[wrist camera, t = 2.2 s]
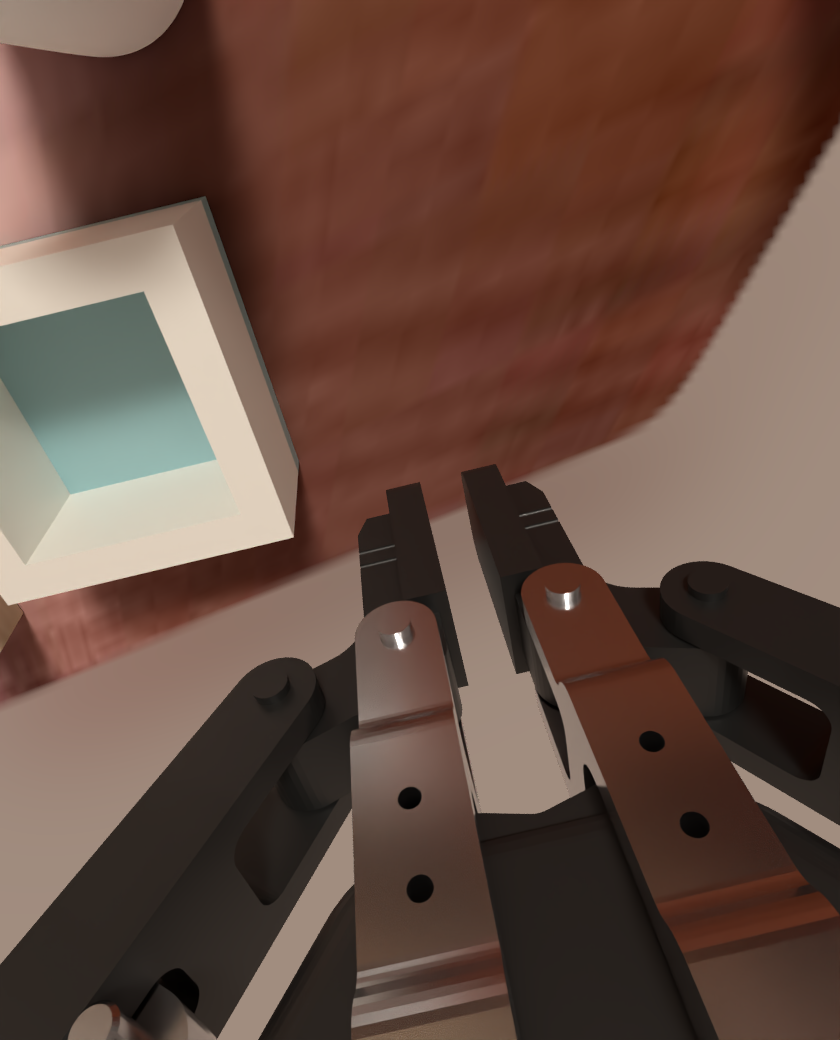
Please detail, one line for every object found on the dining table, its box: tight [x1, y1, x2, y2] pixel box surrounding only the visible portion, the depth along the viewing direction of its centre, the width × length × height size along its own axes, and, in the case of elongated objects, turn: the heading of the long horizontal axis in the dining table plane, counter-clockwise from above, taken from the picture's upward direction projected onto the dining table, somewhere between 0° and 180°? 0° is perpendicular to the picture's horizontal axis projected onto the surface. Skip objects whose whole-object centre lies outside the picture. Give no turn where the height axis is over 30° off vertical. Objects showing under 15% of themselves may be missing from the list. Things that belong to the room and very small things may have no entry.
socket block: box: [0, 196, 299, 605], centre depth 24 cm, size 11×11×6 cm
